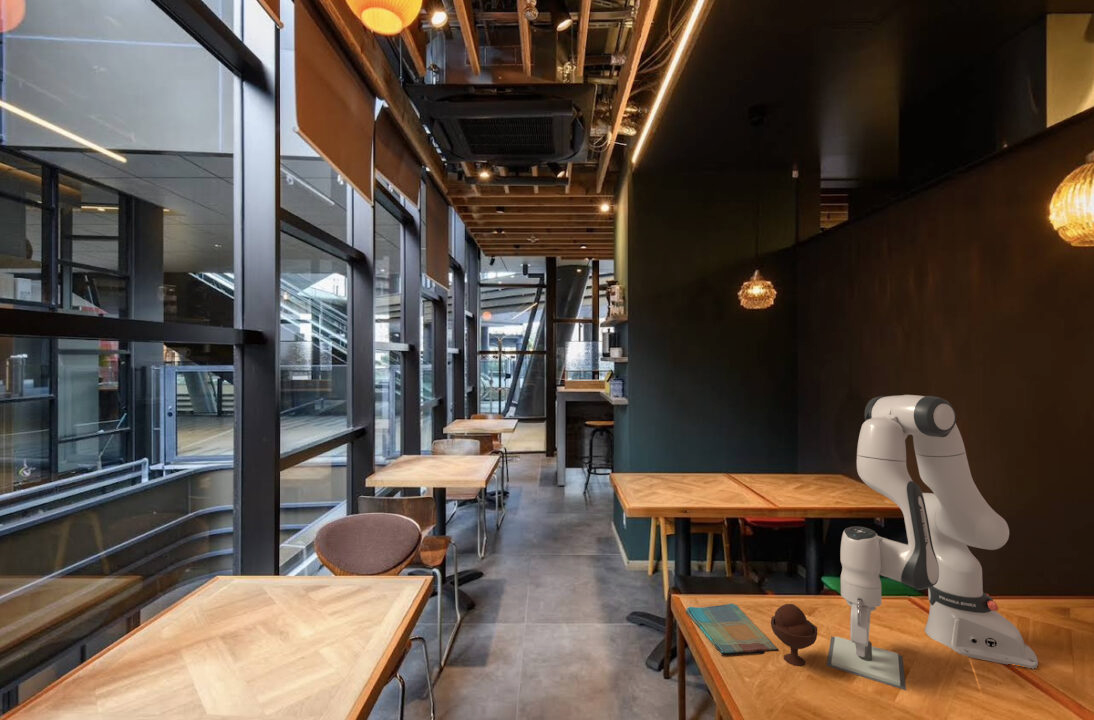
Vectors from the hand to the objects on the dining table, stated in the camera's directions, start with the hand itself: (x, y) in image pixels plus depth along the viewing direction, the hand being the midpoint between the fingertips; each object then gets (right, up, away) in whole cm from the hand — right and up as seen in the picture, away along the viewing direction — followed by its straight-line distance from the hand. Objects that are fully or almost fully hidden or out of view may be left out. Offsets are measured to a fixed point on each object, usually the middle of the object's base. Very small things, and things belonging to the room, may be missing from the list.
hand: (861, 646), depth 120 cm
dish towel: (-28, -6, +15) cm, 33 cm away
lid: (+1, -4, 0) cm, 4 cm away
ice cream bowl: (-17, -4, 0) cm, 18 cm away
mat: (+1, -4, 0) cm, 4 cm away
